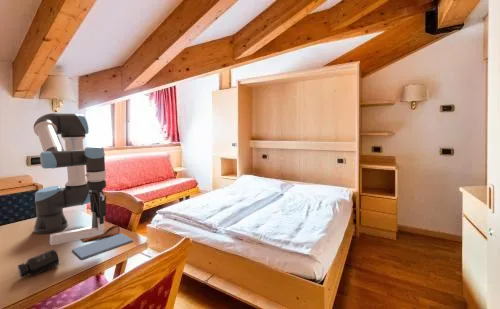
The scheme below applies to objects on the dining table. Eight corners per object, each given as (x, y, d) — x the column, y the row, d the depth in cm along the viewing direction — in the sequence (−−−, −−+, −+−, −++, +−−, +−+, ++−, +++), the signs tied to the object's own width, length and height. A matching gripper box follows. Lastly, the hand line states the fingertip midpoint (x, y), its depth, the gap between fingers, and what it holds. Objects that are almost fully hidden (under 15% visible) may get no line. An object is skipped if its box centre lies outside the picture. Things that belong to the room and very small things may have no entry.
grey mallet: (49, 243, 108) (50, 217, 107) (100, 232, 123) (101, 209, 123) (51, 245, 106) (52, 219, 105) (103, 234, 121) (104, 211, 121)
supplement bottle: (52, 251, 111) (15, 264, 101) (55, 247, 107) (17, 260, 97) (57, 266, 109) (20, 281, 100) (60, 263, 105) (22, 278, 96)
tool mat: (72, 250, 121) (72, 249, 121) (121, 234, 139) (121, 233, 139) (81, 259, 114) (81, 257, 114) (132, 241, 131) (132, 239, 131)
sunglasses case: (81, 243, 128) (80, 229, 131) (81, 245, 134) (81, 232, 136) (121, 235, 138) (119, 223, 140) (120, 237, 143) (119, 225, 145)
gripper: (80, 178, 120) (84, 226, 123) (94, 184, 110) (98, 236, 113) (97, 176, 126) (100, 221, 129) (112, 181, 116) (115, 230, 119)
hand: (99, 228), depth 121 cm, fingers closed on grey mallet, 4 cm apart
